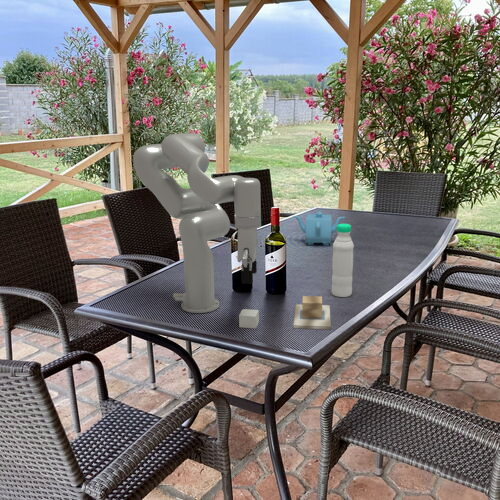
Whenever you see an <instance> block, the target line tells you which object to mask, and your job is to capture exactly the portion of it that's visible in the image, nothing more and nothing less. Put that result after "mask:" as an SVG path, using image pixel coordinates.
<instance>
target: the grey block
mask: <svg viewBox="0 0 500 500" xmlns="http://www.w3.org/2000/svg"><path fill="white" fill-rule="evenodd" d="M259 314H260V310H259V309H249V308H248V309H246V308H245V309H244V308H243V309H242V310H241V311H240V313H239V315H238V318H239V319H238V321H239V322H238V323H239V324H238V325H239V328H246V329H257V327H258V325H259V323H260V315H259Z"/></svg>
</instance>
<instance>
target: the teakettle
mask: <svg viewBox="0 0 500 500" xmlns="http://www.w3.org/2000/svg"><path fill="white" fill-rule="evenodd" d="M292 217H293V218H294V219H296V220H297V221H298V224H299V228H300V230H301V231H302V232H303V233H304V234H305V235H304V236H305V238H304V239H305V240H304V241H305V243H307V245H308V246H314V245H315V243H316V244H321V243H322V246H325V247H326V246H327V247H328V246H329V244H331V243H332V235H333V234H334V233H335V232H337V225H339V224H340V223H341V220H343V219H345V218H346V216H339V217H337V219H336V220H335V223H334V224H333V225H332V219H333V218H332V214H324V213H323V212H322V211H321V210H319V211H318V212H315V213H313V214H312V213H307V214H306V217H305V218H306V219H305V224H304V221H303V219H302V218H301V217H300V216H298V215H293V216H292Z"/></svg>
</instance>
